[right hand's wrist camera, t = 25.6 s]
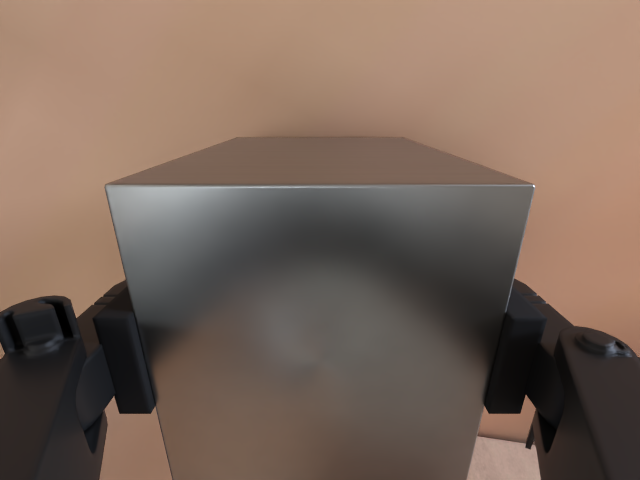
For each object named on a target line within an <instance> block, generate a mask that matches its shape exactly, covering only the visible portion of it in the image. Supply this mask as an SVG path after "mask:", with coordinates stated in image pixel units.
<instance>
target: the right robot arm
mask: <svg viewBox="0 0 640 480" xmlns="http://www.w3.org/2000/svg"><path fill="white" fill-rule="evenodd" d="M0 343H1V345H2V347H3V350H4V352H5V355H4V356H3V358H2V359H0V480H99V478H100V471H101V465H102V458H103V452H104V445H105V439H106V432H107V426H108V424H107V417H106V414H105V411H104V409H105V408H106V406H107V405H108V403H109V402H110V401H111V399H112V398H113V396H115V400H116V403H117V407H118V410H119V414H151V412H152V411H153V409H154V407H155V402H154V397H153V393H152V389H151V384H150V380H149V376H148V372H147V367H146V363H145V359H144V354H143V350H142V346H141V341H140V337H139V333H138V329H137V324H136V320H135V316H134V312H133V307H132V303H131V299H130V294H129V290H128V286H127V281H126V280H125V281H123V282H121V283H119V284H117V285H115V286H113V287H112V288H111V289H110V290H109V291H108V292H106V293H105V294H104V296H103V297H101V298H100V299H98V300H97V301H96V302H95V303H94V305H91V306H90V307H89V308H88V309H87V310H86V311H85V312H83V313H82V314H81V315H80V316H79V317H78V318H76V316H75V313H74V310H73V307H72V303H71V300H70V299H68V298H66V297H64V296H46V297H39V298H35V299H31V300H27V301H24V302H21V303H18V304H16V305H13V306H11V307H9V308H7V309H5V310H3V311H2V312H0ZM525 395H527V396H528V398H529V399H530V401H531V402H532V403H533V405H534V406H535V407H536V411H535V414H534V417H533V421H532V424H531V427H530V430H529V434H528V437H527V440H526V446H525V448H527V449H530V450H531V447H532V444H533V442H534V441H535V444H536V451H537V457H538V464H539V470H540V477H541V480H640V358H639V357H637V355H636V354H635V353H634V352H633V350H632V349H631V348H630V347H629V346H628V345H626V344H625V343H623V342H622V341H620V340H619V339H617V338H615V337H613V336H611V335H609V334H606V333H604V332H601V331H598V330H594V329H591V328H586V327H578V326H573V325H572V324H571V323H570V322H569V321H568V320H566V319H565V318H564V317H563V316H562V315H561V314H560V313H558V312H557V311H556V310H555V309H554V308H553V307H551V306H550V305H549V304H546V301H544V300H543V299H542V298H541V297H540V296H537V294H536V293H535V292H534V291H533V290H532V289H530V288H529V287H528V286H527V285H526V284H524V283H522V282H520V281H518V280H516V279H514V280H513V284H512V289H511V293H510V297H509V302H508V306H507V310H506V314H505V319H504V323H503V327H502V332H501V336H500V340H499V345H498V349H497V353H496V357H495V362H494V366H493V370H492V375H491V379H490V383H489V388H488V392H487V396H486V400H485V407H486V409H487V411H488V413H489V414H520V413H521V409H522V406H523V402H524V399H525Z"/></svg>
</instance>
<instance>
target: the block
mask: <svg viewBox="0 0 640 480" xmlns="http://www.w3.org/2000/svg"><path fill="white" fill-rule="evenodd" d="M534 190H535V185H534V184H532V183H529V182H526V181H523V180H521V179H518V178H515V177H512V176H509V175H507V174H504V173H501V172H498V171H496V170H493V169H490V168H487V167H484V166H482V165H479V164H476V163H473V162H470V161H468V160H465V159H462V158H459V157H456V156H454V155H451V154H448V153H445V152H442V151H440V150H437V149H434V148H431V147H429V146H426V145H423V144H420V143H417V142H415V141H412V140H409V139H406V138H403V137H237V138H234V139H231V140H228V141H225V142H223V143H220V144H217V145H214V146H211V147H209V148H206V149H203V150H200V151H197V152H194V153H192V154H189V155H186V156H183V157H180V158H178V159H175V160H172V161H169V162H166V163H164V164H161V165H158V166H155V167H152V168H149V169H147V170H144V171H141V172H138V173H135V174H133V175H130V176H127V177H124V178H121V179H119V180H116V181H113V182H110V183H107V184H105V191H106V195H107V200H108V204H109V208H110V213H111V217H112V221H113V226H114V230H115V234H116V238H117V243H118V247H119V251H120V256H121V260H122V264H123V269H124V273H125V277H126V281H127V286H128V290H129V294H130V299H131V303H132V307H133V312H134V316H135V320H136V324H137V329H138V333H139V337H140V341H141V346H142V350H143V354H144V359H145V363H146V367H147V372H148V376H149V380H150V384H151V389H152V393H153V397H154V402H155V406H156V411H157V415H158V419H159V423H160V428H161V432H162V436H163V441H164V445H165V449H166V454H167V458H168V462H169V466H170V471H171V475H172V479H173V480H467V478H468V473H469V469H470V465H471V461H472V456H473V452H474V448H475V443H476V439H477V435H478V431H479V426H480V422H481V418H482V413H483V409H484V405H485V400H486V396H487V392H488V388H489V383H490V379H491V375H492V370H493V366H494V362H495V357H496V353H497V349H498V345H499V340H500V336H501V332H502V327H503V323H504V319H505V314H506V310H507V306H508V302H509V297H510V293H511V289H512V284H513V280H514V276H515V272H516V267H517V263H518V259H519V254H520V250H521V246H522V241H523V237H524V233H525V229H526V224H527V220H528V216H529V211H530V207H531V203H532V198H533V194H534Z"/></svg>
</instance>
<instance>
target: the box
mask: <svg viewBox="0 0 640 480" xmlns="http://www.w3.org/2000/svg"><path fill="white" fill-rule="evenodd" d="M525 446H526V444H525V443H518V442H512V441H505V440H498V439H492V438H485V437H478V436H477V439H476V443H475V448H474V452H473V456H472V461H471V465H470V469H469V473H468V478H467V480H541V477H540V470H539V464H538V457H537V451H536V445H532V447H531V450H530V449H527V448H525Z"/></svg>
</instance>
